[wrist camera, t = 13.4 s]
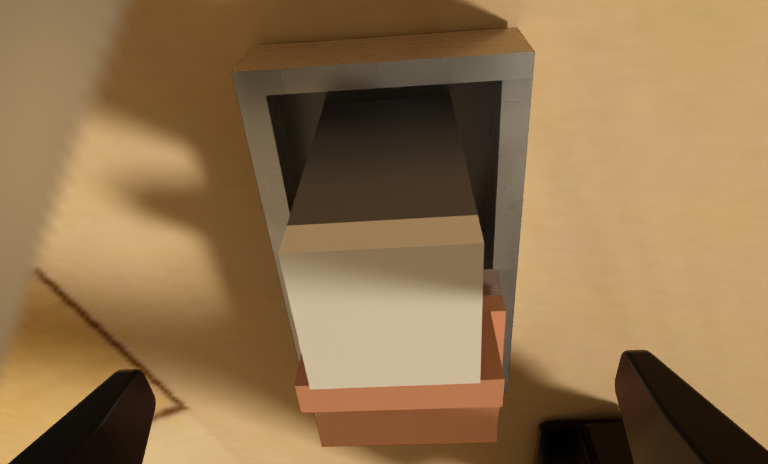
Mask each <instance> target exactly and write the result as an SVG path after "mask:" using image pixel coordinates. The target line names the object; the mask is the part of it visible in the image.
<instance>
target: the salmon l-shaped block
mask: <svg viewBox="0 0 768 464" xmlns="http://www.w3.org/2000/svg"><path fill="white" fill-rule="evenodd" d="M505 320H506V308H505V304H504V300H503V296H502V295H483V303H482V339H481V375H480V383H471V384H444V385H417V386H391V387H364V388H337V389H310V387H309V383H308V378H307V374H306V370H305V366H304V362H303V357H302V353H301V356H300V362H299V367H298V372H297V377H296V382H295V390H296V394H297V398H298V402H299V406H300V410H301V413H309V412H314V414H315V418H316V423H317V427H318V431H319V436H320V440H321V445H322V447H333V446H371V445H410V444H448V443H487V442H497V433H498V419H499V407H503V394H504V381H505V379H504V374H503V369H502V362H503V348H504V334H505ZM293 321H294V319H293ZM294 326H295V324H294ZM295 330H296V328H295ZM296 335H297V332H296ZM297 339H298V336H297ZM298 343H299V340H298ZM299 348H300V345H299ZM300 352H301V349H300Z"/></svg>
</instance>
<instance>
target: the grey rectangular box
mask: <svg viewBox="0 0 768 464" xmlns="http://www.w3.org/2000/svg"><path fill="white" fill-rule="evenodd" d="M534 56H535V51H534V50H533V48H532V47H531V46H530V44H529V43H528V41H527V40H526V39H525V37H524V36H523V34H522V33H521V32H520V30H519V29H518V28H517V27H515V28H500V29H486V30H472V31H458V32H443V33H429V34H415V35H401V36H386V37H372V38H358V39H344V40H329V41H315V42H301V43H287V44H273V45H258V46H252V47H251V48H250V49H249V50H248V52H247V53H246V54H245V55H244V57H243V58H242V59H241V60H240V62H239V63H238V64H237V65H236V67H235V68H234V69H233V70H232V72H231V73H232V78H233V82H234V86H235V90H236V95H237V99H238V103H239V108H240V112H241V116H242V120H243V125H244V129H245V133H246V138H247V142H248V146H249V150H250V155H251V159H252V163H253V168H254V172H255V176H256V180H257V185H258V189H259V193H260V198H261V202H262V206H263V210H264V215H265V219H266V223H267V228H268V232H269V236H270V240H271V245H272V249H273V253H274V258H275V262H276V266H277V270H278V275H279V279H280V283H281V288H282V292H283V296H284V300H285V305H286V309H287V313H288V318H289V322H290V326H291V331H292V335H293V339H294V343H295V348H296V352H297V356H298V361H299V362H300V356H301V352H300V348H299V343H298V339H297V335H296V330H295V326H294V321H293V315H292V311H291V307H290V302H289V298H288V294H287V290H286V286H285V281H284V277H283V273H282V269H281V264H280V260H279V256H278V252H279V249H280V246H281V243H282V239H283V236H284V233H285V230H286V226H287V223H288V220H289V217H290V213H291V210H292V207H293V203H294V200H295V197H296V194H297V190H298V187H299V184H300V181H301V177H302V174H303V171H304V168H305V164H306V161H307V158H308V155H309V151H310V148H311V145H312V141H313V138H314V135H315V132H316V128H317V125H318V122H319V119H320V115H321V112H322V109H323V106H324V104H330V103H344V102H358V101H372V100H386V99H400V98H415V97H429V96H443V95H451V99H452V104H453V108H454V113H455V117H456V121H457V126H458V130H459V135H460V139H461V143H462V148H463V152H464V157H465V161H466V165H467V170H468V174H469V179H470V183H471V187H472V192H473V196H474V201H475V205H476V209H477V214H478V218H479V223H480V227H481V231H482V236H483V240H484V266H483V295H502V296H503V300H504V304H505V308H506V320H505V334H504V348H503V362H502V369H503V374H504V379H505V381H504V393H507V388H508V376H509V364H510V352H511V339H512V327H513V315H514V302H515V290H516V278H517V265H518V253H519V241H520V229H521V216H522V204H523V192H524V179H525V167H526V155H527V143H528V130H529V118H530V106H531V93H532V81H533V69H534Z"/></svg>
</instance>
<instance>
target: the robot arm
mask: <svg viewBox="0 0 768 464" xmlns="http://www.w3.org/2000/svg"><path fill="white" fill-rule="evenodd" d="M615 391H616V396H617V400H618V403H619V407H620V411H621V415H622V419H612V420H576V421H548V422H544V423H542V424H541V425H540V426H539V429H538V436H537V443H536V450H535V458H534V464H768V450H766V449H765V448H764V447H763V446H762V445H761V444H759V443H758V442H757V441H756V440H755V439H753V438H752V437H751V436H750V435H749V434H747V433H746V432H745V431H744V430H743V429H741V428H740V427H739V426H738V425H737V424H735V423H734V422H733V421H732V420H731V419H729V418H728V417H727V416H726V415H725V414H723V413H722V412H721V411H720V410H719V409H717V408H716V407H715V406H714V405H713V404H711V403H710V402H709V401H708V400H707V399H706V398H704V397H703V396H702V395H701V394H700V393H698V392H697V391H696V390H695V389H694V388H692V387H691V386H690V385H689V384H688V383H686V382H685V381H684V380H683V379H682V378H680V377H679V376H678V375H677V374H676V373H674V372H673V371H672V370H671V369H670V368H668V367H667V366H666V365H665V364H664V363H662V362H661V361H660V360H659V359H658V358H657V357H655V356H654V355H653V354H652V353H650V352H649V351H646V350H627V351H624V352H623V353H622V355H621V358H620V362H619V366H618V370H617V374H616V378H615ZM155 405H156V401H155V396H154V394H153V392H152V389H151V387H150V385H149V383H148V381H147V379H146V377H145V375H144V373H143V372H142V371H141V370H140V369H124V370H119V371H117V372H115V373H114V374H113V375H111V376H110V377H109V378H108V379H107V380H106V381H104V382H103V383H102V384H101V385H100V386H99V387H97V388H96V389H95V390H94V391H93V392H92V393H90V394H89V395H88V396H87V397H86V398H85V399H83V400H82V401H81V402H80V403H79V404H78V405H76V406H75V407H74V408H73V409H72V410H71V411H69V412H68V413H67V414H66V415H65V416H63V417H62V418H61V419H60V420H59V421H58V422H56V423H55V424H54V425H53V426H52V427H51V428H49V429H48V430H47V431H46V432H45V433H44V434H42V435H41V436H40V437H39V438H38V439H37V440H35V441H34V442H33V443H32V444H31V445H30V446H28V447H27V448H26V449H25V450H24V451H23V452H21V453H20V454H19V455H18V456H17V457H15V458H14V459H13V460H12V461H11V462H10V463H8V464H142V462H143V458H144V454H145V450H146V445H147V441H148V437H149V433H150V428H151V424H152V420H153V416H154V412H155Z"/></svg>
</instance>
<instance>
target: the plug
mask: <svg viewBox="0 0 768 464" xmlns="http://www.w3.org/2000/svg"><path fill="white" fill-rule="evenodd" d="M278 256H279V260H280V264H281V269H282V273H283V277H284V281H285V286H286V290H287V294H288V298H289V302H290V307H291V311H292V315H293V319H294V324H295V328H296V332H297V336H298V340H299V345H300V349H301V353H302V357H303V362H304V366H305V370H306V374H307V378H308V383H309V387H310V389H337V388H364V387H391V386H417V385H444V384H471V383H480V375H481V339H482V303H483V266H484V240H483V236H482V231H481V227H480V223H479V218H478V214H477V209H476V205H475V201H474V196H473V192H472V187H471V183H470V179H469V174H468V170H467V165H466V161H465V157H464V152H463V148H462V143H461V139H460V135H459V130H458V126H457V121H456V117H455V113H454V108H453V104H452V99H451V95H443V96H429V97H415V98H400V99H386V100H372V101H358V102H344V103H330V104H324V106H323V109H322V112H321V115H320V119H319V122H318V125H317V128H316V132H315V135H314V138H313V141H312V145H311V148H310V151H309V155H308V158H307V161H306V164H305V168H304V171H303V174H302V177H301V181H300V184H299V187H298V190H297V194H296V197H295V200H294V203H293V207H292V210H291V213H290V217H289V220H288V223H287V226H286V230H285V233H284V236H283V239H282V243H281V246H280V249H279V252H278Z"/></svg>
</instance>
